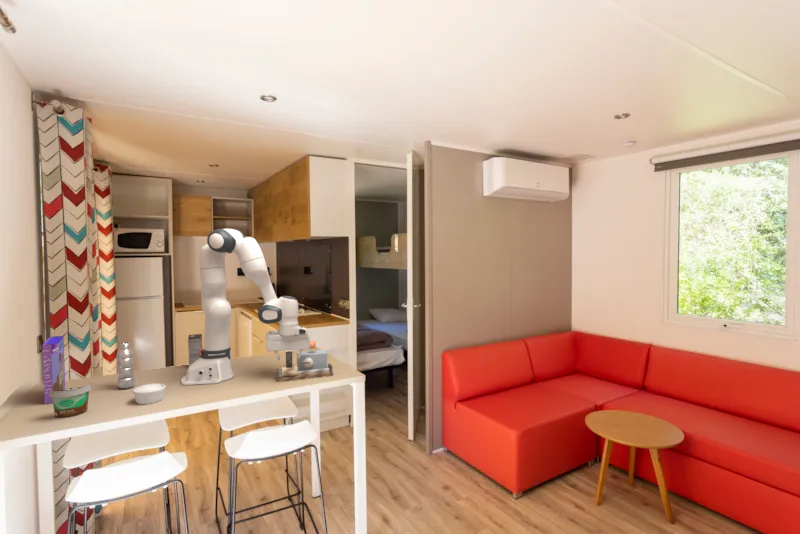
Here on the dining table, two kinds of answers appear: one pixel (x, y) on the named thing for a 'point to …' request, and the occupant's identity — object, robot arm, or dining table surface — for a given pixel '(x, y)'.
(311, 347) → the button
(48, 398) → the cereal box
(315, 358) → the gauge cabinet
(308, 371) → the rail
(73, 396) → the food container
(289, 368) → the carriage
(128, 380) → the plastic bottle
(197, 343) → the coffee box
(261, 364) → the dining table surface
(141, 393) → the ramekin
